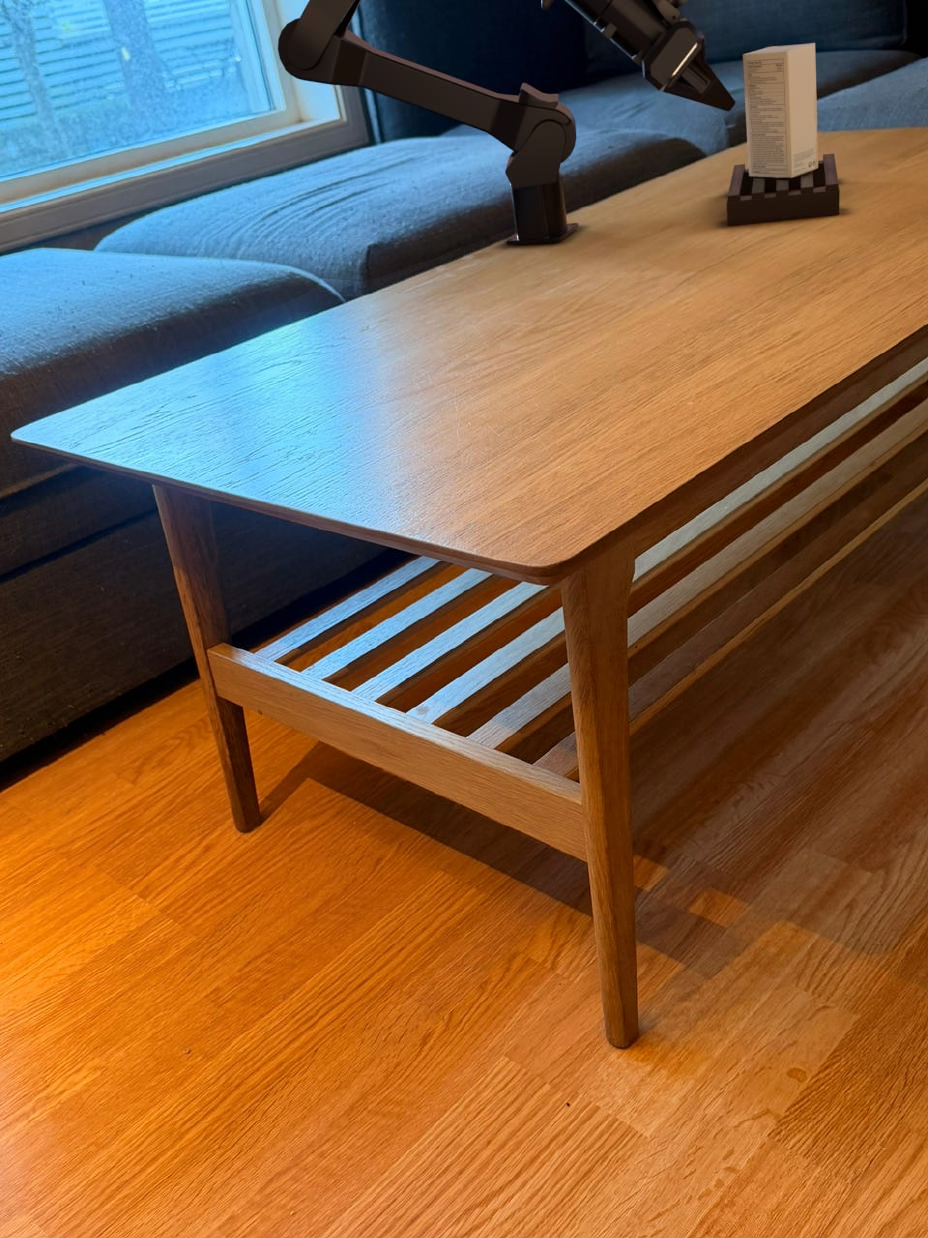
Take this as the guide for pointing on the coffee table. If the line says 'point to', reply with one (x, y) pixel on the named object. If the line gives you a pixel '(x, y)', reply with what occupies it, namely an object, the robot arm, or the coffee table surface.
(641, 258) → the coffee table surface
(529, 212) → the robot arm
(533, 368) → the coffee table surface
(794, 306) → the coffee table surface
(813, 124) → the cosmetic box
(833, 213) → the rack
